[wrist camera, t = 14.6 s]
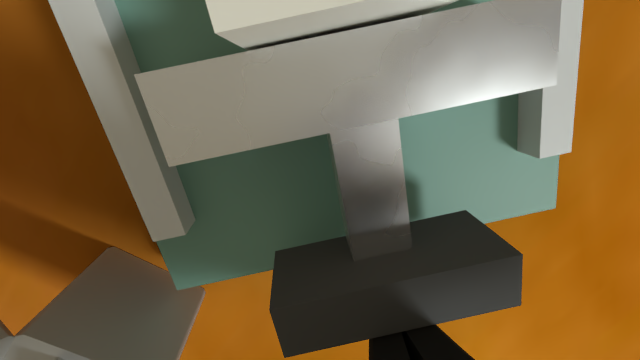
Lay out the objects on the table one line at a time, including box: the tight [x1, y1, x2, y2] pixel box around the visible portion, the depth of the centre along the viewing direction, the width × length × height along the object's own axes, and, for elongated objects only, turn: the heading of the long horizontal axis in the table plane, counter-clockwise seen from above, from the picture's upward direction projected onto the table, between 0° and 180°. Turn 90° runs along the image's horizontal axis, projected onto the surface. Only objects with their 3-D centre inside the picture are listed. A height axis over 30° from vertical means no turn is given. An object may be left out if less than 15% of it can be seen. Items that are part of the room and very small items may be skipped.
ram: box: [134, 0, 562, 358], centre depth 8 cm, size 9×7×4 cm
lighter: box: [0, 247, 205, 360], centre depth 8 cm, size 7×2×8 cm, turn 55°
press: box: [48, 0, 584, 290], centre depth 8 cm, size 14×15×4 cm
